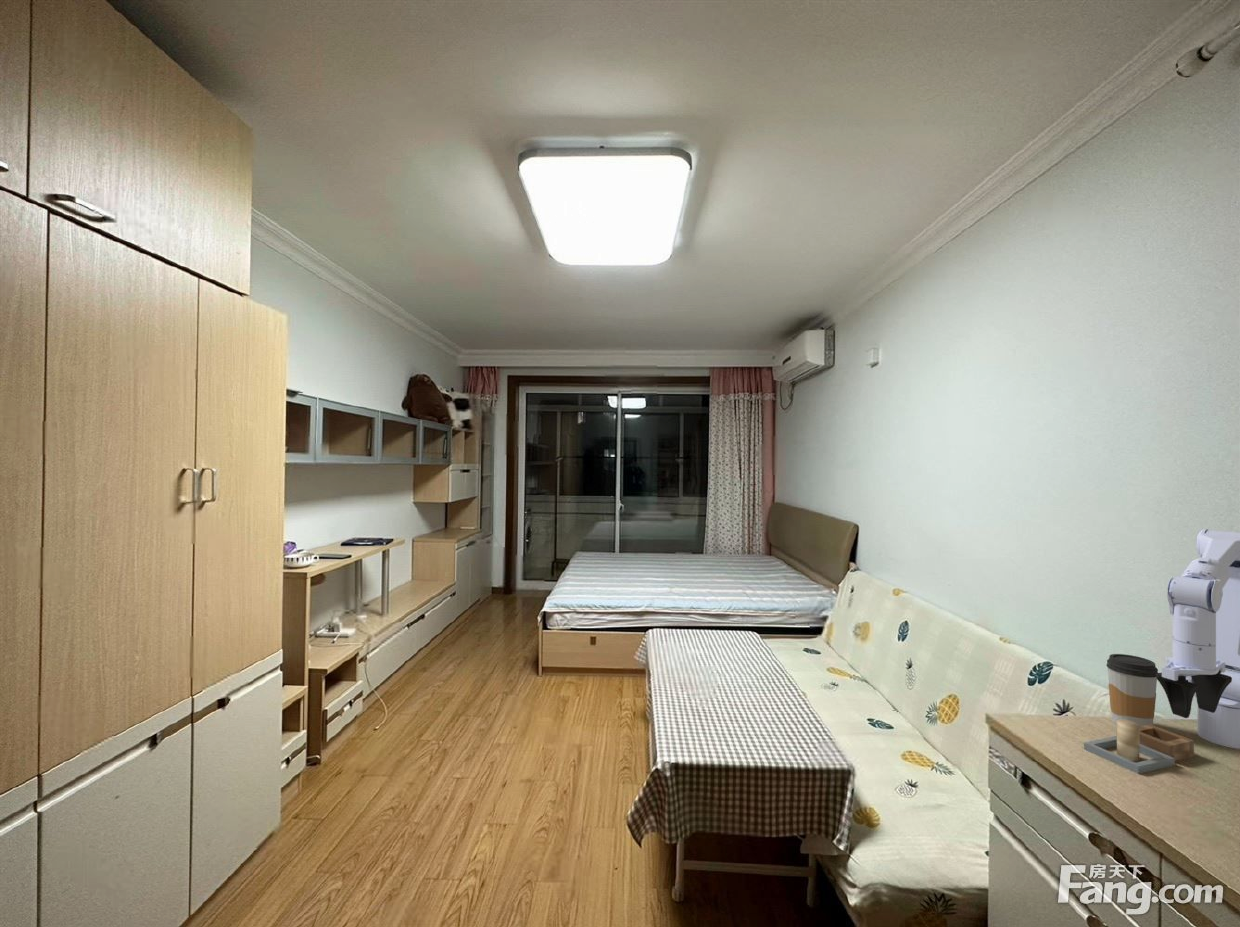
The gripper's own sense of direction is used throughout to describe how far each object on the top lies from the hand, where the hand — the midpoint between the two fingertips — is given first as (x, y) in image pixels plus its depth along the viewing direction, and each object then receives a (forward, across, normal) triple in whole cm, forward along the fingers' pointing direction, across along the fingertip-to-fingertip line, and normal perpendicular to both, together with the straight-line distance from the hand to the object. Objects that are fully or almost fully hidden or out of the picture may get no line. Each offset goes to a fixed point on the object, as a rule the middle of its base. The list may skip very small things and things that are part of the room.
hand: (1193, 713), depth 104 cm
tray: (+10, +10, -5) cm, 15 cm away
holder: (+10, 0, -5) cm, 12 cm away
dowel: (+10, +10, -5) cm, 15 cm away
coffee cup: (+11, -7, -14) cm, 19 cm away
